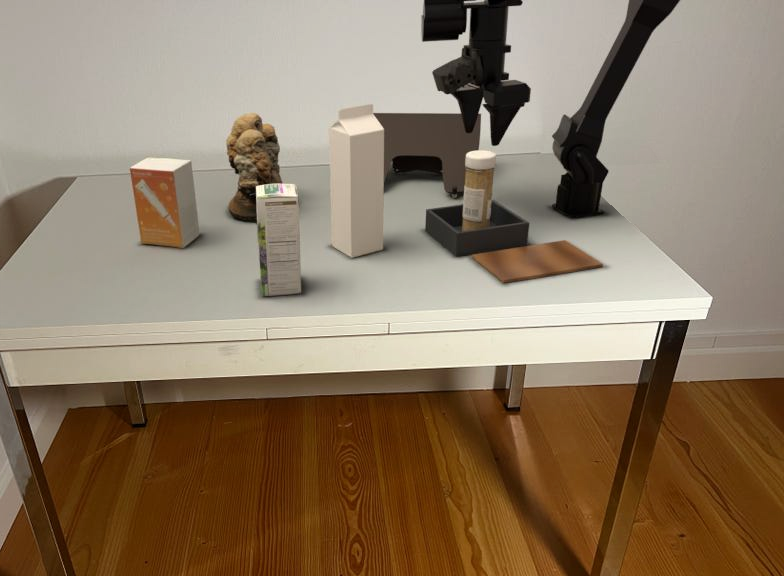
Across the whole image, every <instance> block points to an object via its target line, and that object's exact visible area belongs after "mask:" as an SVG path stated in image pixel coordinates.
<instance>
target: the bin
mask: <svg viewBox="0 0 784 576" xmlns="http://www.w3.org/2000/svg"><path fill="white" fill-rule="evenodd" d="M462 225H463V203H461V204H455V205H447V206H441V207H433V208H426V209H425V228H424V231H425V232H426V234H428V235H429V236H430V237H431V238H433V240H435V241H436V242H438V244H440V245H441V246H442V247H443V248H445V249H446V250H447V251H448V252H449V253H451V254H452V255H453V256H454V257H463V256H470V255H473V254H480V253H486V252H493V251H499V250H505V249H512V248H518V247H525V246H528V239H529V231H530V222H529V221H528V220H527V219H525V218H523V217H522V216H520V215H518V214H516V213H515V212H514V211H512V210H511V209H508V207H505V206H504V205H502V204H501V203H499V202H498V201H496V200H494V199H492V203H491V216H490V225H489V227H488V228H481V229H474V230H468V231H462Z"/></svg>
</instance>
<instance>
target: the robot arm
mask: <svg viewBox="0 0 784 576" xmlns="http://www.w3.org/2000/svg"><path fill="white" fill-rule="evenodd" d="M680 1H681V0H628V3H627V9H626V15H625V19H624V22H623V24H622V26H621V28H620V30H619V32H618V34H617V36H616V38H615V40H614V42H613V43H612V46H611V47H610V50H609V51H608V53H607V56H606V58H605V59H604V62H603V63H602V65H601V67H600V69H599V71H598V73H597V75H596V77H595V79H594V81H593V83H592V85H591V87H590V89H589V91H588V93H587V95H586V96H585V98H584V100H583V102H582V104H581V106H580V107H579V109H578V110H577V111H576V112H575V113H574V114H573V115H572V116H571V117H570V116H568V115H567V114H566V113H565V114H563V115H562V116H561V118H560V122H559V125H558V127H557V129H556V130H555V132H554V133H553V134H552V135H551V138H552V139H553V142H552V152H553V155H554V156H555V158H557V160H558V162H559V163H560V164H561V166H562V168H563V170H565V174H561V175H560V181H559V182H560V183H558V184H557V189H556V197H555V198H556V199H555V202H554V203H551V208H553V209H555V210H556V211H558V212H560V213H562V214H564V215H565V216H566V217H569V218H570V219H576V218H582V217H588V216H589V217H590V216H595V215H602V214H605V209H603V208H601V207H600V205H601V204H600V203H601V197H602V192H603V186H604V182H605V180H606V178H607V176H608V174H609V169H608V168H607V167H606V166H605V164H603V162H602V161H601V160H600V159H599V158H598V157H597V156H598V153H599V151H600V148H601V145H602V142H603V138H604V131H605V125H606V121H607V119H608V116H609V115H610V113H611V111H612V109H613V107H614V105H615V104H616V102H617V100H618V98H619V96H620V94H621V92H622V90H623V88H624V87H625V84H626V83H627V81H628V79H629V77H630V76H631V74H632V71H634V67H636V64H637V62H638V60H639V58H640V57H641V55H642V53H643V51H644V49H645V47H646V46H647V43H648V41H649V39H650V38H651V36H652V34H653V33H654V31H655V30H656V29H657V28H658V27H659V26H660V25H661V24H662V23H663V22H664V21H665V20H666V19H667V18H668V17H669V16H670V15H671V14H672V12H673V11H674V10H675V8H676V7H677V6H678V4H679V3H680ZM522 5H523V0H483V1H477V0H423V4H422V14H421V16H420V17H421V19H420V21H421V24H420V25H421V26H420V27H421V29H420V33H421V34H420V36H421V42H422V43H425V42H426V43H427V42H444V41H446V42H447V41H448V42H449V41H458V40H459V39H460V36H462V35H463V33H464V34H465V33H466V32H467V23H468V10H469V11H470V12H469V30H468V31H469V32H468V35H469V36H468V44H463V47H462V48H461V56H459V57H457V58H455V59H452V60H450V61H448V62H445V63H444V64H442V65H441V66H438V67H436V68H435V69H433V70H432V72H431V74H432V77H433V80H434V83H435V87H436V90H437V91H438V92H442V93H444V94H445V95H451V96H452V97H453V98H455V100H456V101H457V104H458V107H459V111H460V114H461V115H462V119H463V124H464V128H465V132H466V133H472V132H473V129H474V126H475V123H476V120H477V117H478V114H480V110H481V106H482V107H483V108H484V110H486V111H487V112H488V114H489V129H490V143H491V144H490V145H491V146H492V147H497V146H499V145H500V143H501V141H502V139H503V138H504V136H505V134H506V133H507V131H508V129H509V127H510V125H511V123H512V122H513V120H515V117H516V116H517V114H518V112H519V111H520V109H521V108H523V107H525V106H526V104H528V103H530V102H531V94H532V93H531V92H532V88H531V87H530V86H529V85H528V84H527V82H524V81H521V80H517V79H510V72H507V71H505V62H506V54H508V53H509V54H510V53H511V52H512V45H511V44H507V36H508V35H507V34H508V33H507V32H508V22H509V21H508V20H509V9H510V7H521V6H522ZM483 100H484V103H483Z"/></svg>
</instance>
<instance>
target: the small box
mask: <svg viewBox="0 0 784 576" xmlns="http://www.w3.org/2000/svg"><path fill="white" fill-rule="evenodd" d="M129 172H130V179H131V186H132V192H133V199H134V205H135V206H134V207H135V212H136V218H137V225H138V230H139V239H140V243H141V244H143V245H144V244H145V245H156V246H162V247H163V246H164V247H171V248H179V249H184V248H185V247H187V246H188V245H190V243H191V242H193V241H194V240H196V239H197V238H198V237H199V236H200V235H201V233H200V225H199V216H198V205H197V198H196V191H195V190H196V189H195V182H194V181H195V180H194V174H193V164H192V160H191V159H179V158H168V157H167V158H166V157H165V158H160V157H146V158H144V159H142V160H140V161H139V162H137V163H135V164H134V165H132V166H130V167H129Z"/></svg>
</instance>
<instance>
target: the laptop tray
mask: <svg viewBox="0 0 784 576" xmlns="http://www.w3.org/2000/svg"><path fill="white" fill-rule="evenodd" d="M373 114H374V116H375V117H376V119H377V120H378V121H379V123H380V124H381V126H382V127H383V128H384V182H385V181H386V178H387V177H388V174H389V171H390V167H391V164H392V172H393V173H394V174H397V175H400V174H405V173H410V172H426V173H431V174H434V175H438V176H439V175H440V176H442V182H443V187H444V191H445V193H447V194H451V196H452V199H456V198H457V196H458V194H460V193H464V185H465V176H466V166H465V159H466V154H467V153H468V152H471V151H477V150H480V143H481V128H482V113H478V117H477V120H476V123H475V126H474V129H473V132H472V133H466V132H465V128H464V124H463V119H462V115H461V113H457V112H456V113H450V112H449V113H444V112H443V113H440V112H439V113H437V112H436V113H434V112H432V113H430V112H418V113H417V112H373Z"/></svg>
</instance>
